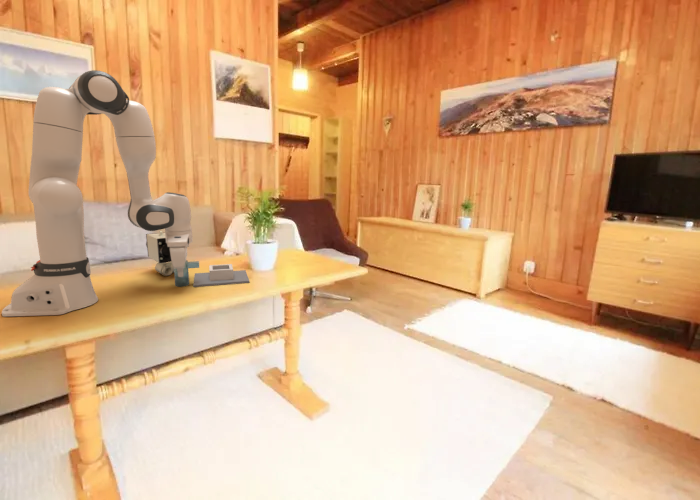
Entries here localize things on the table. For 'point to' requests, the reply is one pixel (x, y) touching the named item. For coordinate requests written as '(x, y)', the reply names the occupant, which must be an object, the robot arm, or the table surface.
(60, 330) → the table surface
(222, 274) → the grey base plate
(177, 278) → the elbow
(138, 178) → the robot arm
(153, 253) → the ball valve
